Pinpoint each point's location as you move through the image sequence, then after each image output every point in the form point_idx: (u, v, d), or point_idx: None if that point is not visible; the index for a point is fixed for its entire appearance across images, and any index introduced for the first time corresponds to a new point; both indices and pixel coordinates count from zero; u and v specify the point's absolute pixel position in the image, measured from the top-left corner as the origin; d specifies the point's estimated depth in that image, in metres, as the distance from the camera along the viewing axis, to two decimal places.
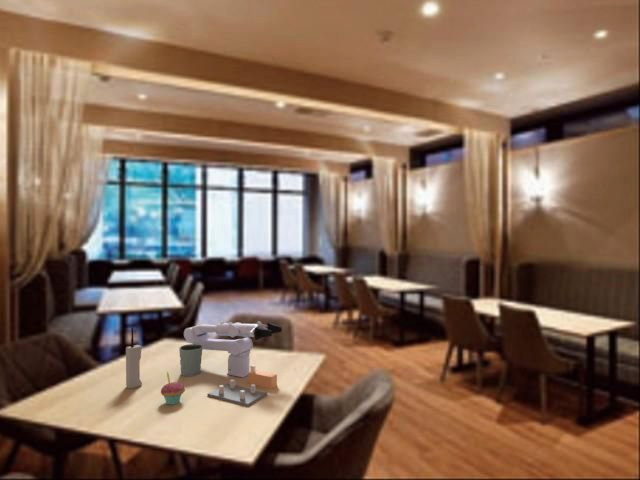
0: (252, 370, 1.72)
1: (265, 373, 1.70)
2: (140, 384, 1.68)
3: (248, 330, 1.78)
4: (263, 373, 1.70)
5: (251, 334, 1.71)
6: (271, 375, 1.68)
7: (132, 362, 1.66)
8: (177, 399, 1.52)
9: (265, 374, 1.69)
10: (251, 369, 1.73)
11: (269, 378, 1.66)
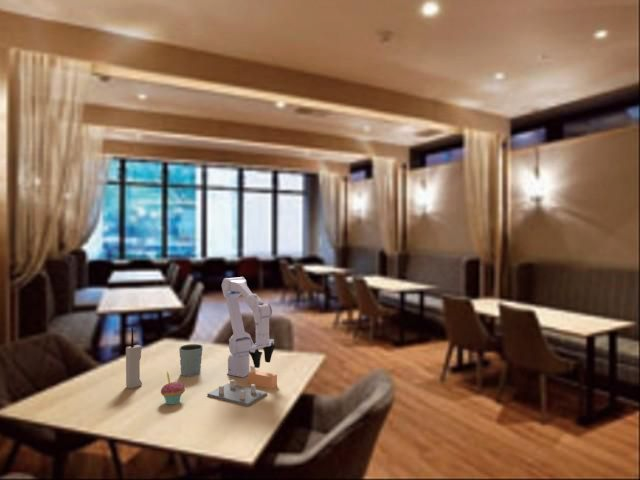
0: (252, 370, 1.72)
1: (265, 373, 1.70)
2: (140, 384, 1.68)
3: (259, 336, 1.67)
4: (263, 373, 1.70)
5: (251, 350, 1.64)
6: (271, 375, 1.68)
7: (132, 362, 1.66)
8: (177, 399, 1.52)
9: (265, 374, 1.69)
10: (251, 369, 1.72)
11: (269, 378, 1.66)
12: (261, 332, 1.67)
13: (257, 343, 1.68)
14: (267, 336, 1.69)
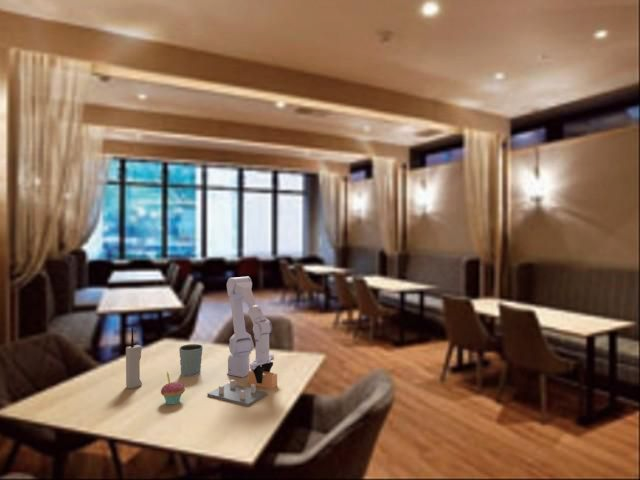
0: None
1: (265, 373, 1.70)
2: (140, 384, 1.68)
3: (259, 352, 1.68)
4: (263, 373, 1.70)
5: (251, 367, 1.64)
6: (271, 375, 1.68)
7: (132, 362, 1.66)
8: (177, 399, 1.52)
9: (265, 373, 1.69)
10: (251, 369, 1.73)
11: (269, 378, 1.66)
12: (261, 349, 1.67)
13: (257, 360, 1.68)
14: (267, 353, 1.69)
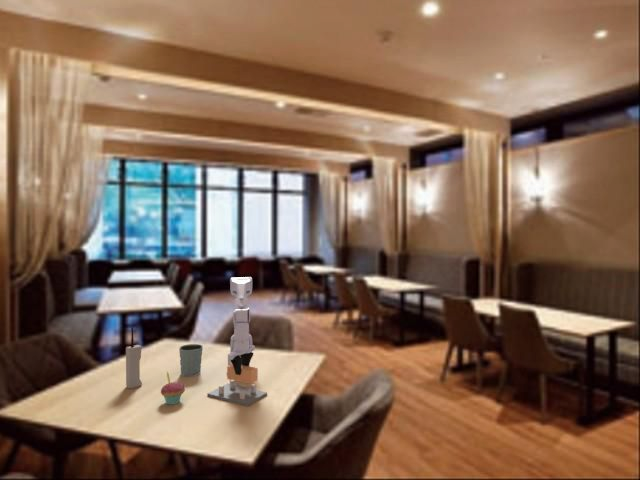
0: (231, 364, 1.62)
1: (245, 367, 1.60)
2: (140, 384, 1.68)
3: (238, 342, 1.58)
4: (243, 367, 1.60)
5: (229, 358, 1.54)
6: (251, 369, 1.58)
7: (132, 362, 1.66)
8: (177, 399, 1.52)
9: (245, 368, 1.59)
10: (230, 363, 1.63)
11: (249, 372, 1.56)
12: (236, 338, 1.58)
13: (236, 350, 1.58)
14: (246, 342, 1.59)
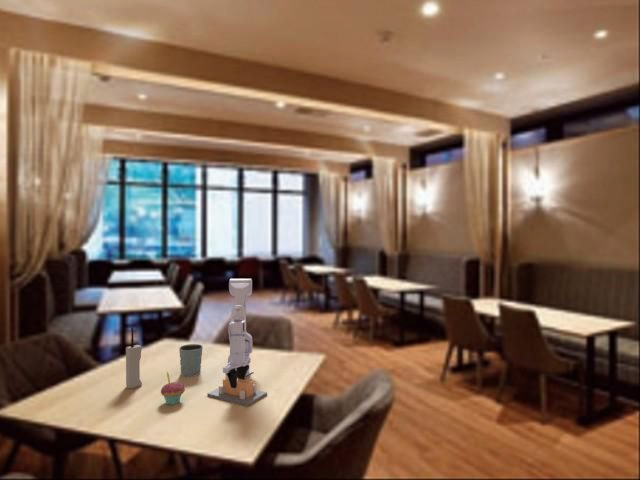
0: (227, 377, 1.61)
1: (241, 380, 1.59)
2: (140, 384, 1.68)
3: (233, 355, 1.56)
4: (239, 380, 1.59)
5: (224, 371, 1.52)
6: (246, 383, 1.56)
7: (132, 362, 1.66)
8: (177, 399, 1.52)
9: (241, 381, 1.58)
10: (226, 376, 1.61)
11: (245, 386, 1.55)
12: (231, 351, 1.56)
13: (231, 363, 1.57)
14: (242, 355, 1.57)
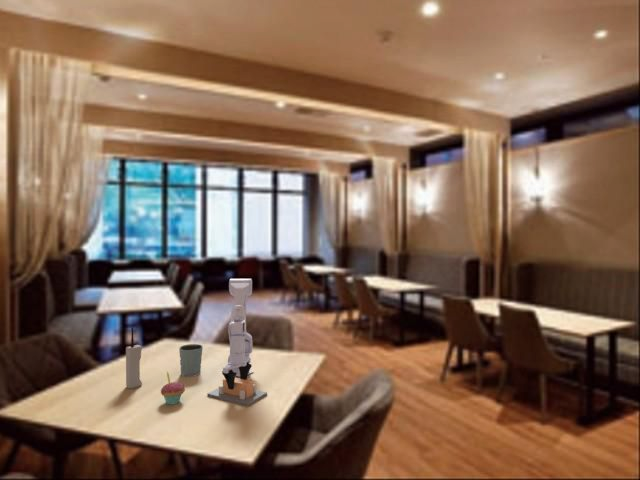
0: None
1: (241, 380, 1.59)
2: (140, 384, 1.68)
3: (233, 355, 1.56)
4: (239, 380, 1.59)
5: (224, 371, 1.52)
6: (246, 383, 1.56)
7: (132, 362, 1.66)
8: (177, 399, 1.52)
9: (241, 381, 1.58)
10: None
11: (245, 386, 1.55)
12: (231, 351, 1.56)
13: (231, 363, 1.57)
14: (242, 355, 1.57)
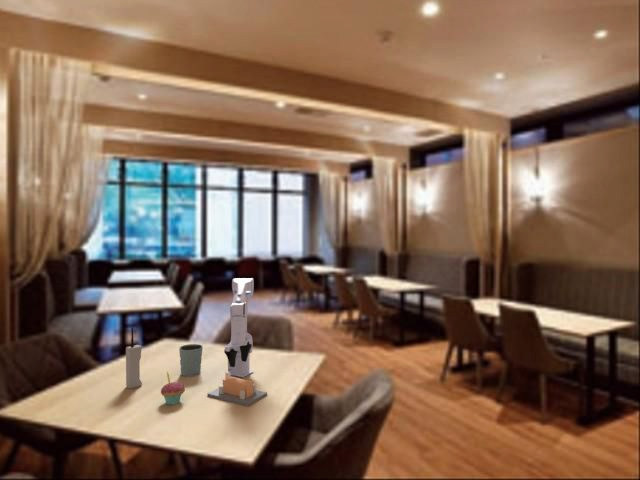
0: (227, 377, 1.61)
1: (241, 380, 1.59)
2: (140, 384, 1.68)
3: (234, 335, 1.66)
4: (239, 380, 1.59)
5: (226, 349, 1.62)
6: (246, 383, 1.56)
7: (132, 362, 1.66)
8: (177, 399, 1.52)
9: (241, 381, 1.58)
10: (226, 376, 1.61)
11: (245, 386, 1.55)
12: (233, 331, 1.66)
13: (233, 342, 1.66)
14: (243, 335, 1.67)
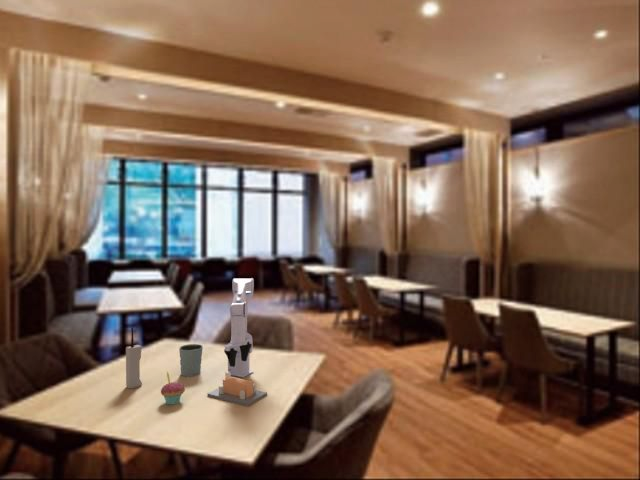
0: (227, 377, 1.61)
1: (241, 380, 1.59)
2: (140, 384, 1.68)
3: (235, 334, 1.66)
4: (239, 380, 1.59)
5: (226, 349, 1.62)
6: (246, 383, 1.56)
7: (132, 362, 1.66)
8: (177, 399, 1.52)
9: (241, 381, 1.58)
10: (226, 376, 1.61)
11: (245, 386, 1.55)
12: (233, 330, 1.66)
13: (233, 342, 1.66)
14: (243, 335, 1.67)
